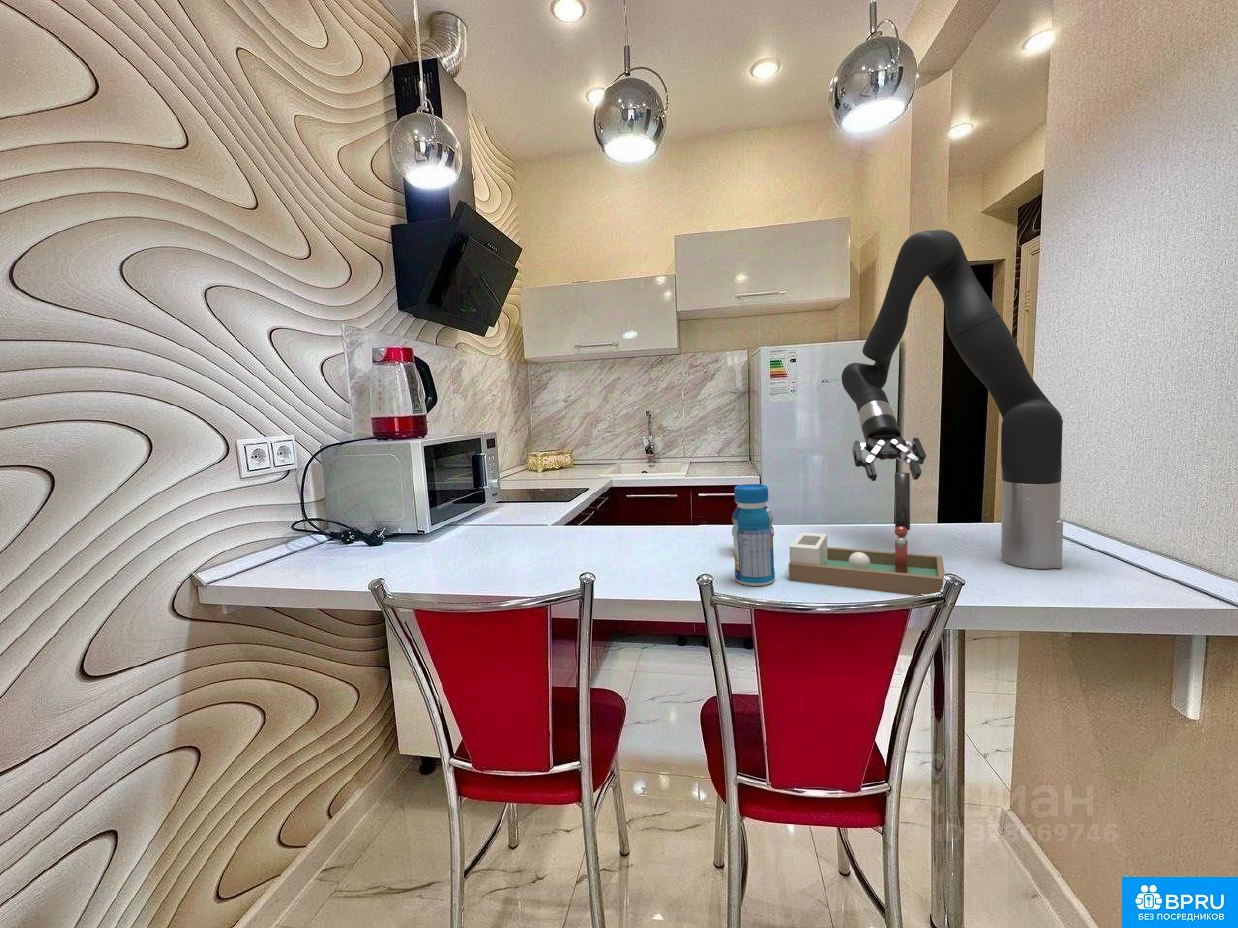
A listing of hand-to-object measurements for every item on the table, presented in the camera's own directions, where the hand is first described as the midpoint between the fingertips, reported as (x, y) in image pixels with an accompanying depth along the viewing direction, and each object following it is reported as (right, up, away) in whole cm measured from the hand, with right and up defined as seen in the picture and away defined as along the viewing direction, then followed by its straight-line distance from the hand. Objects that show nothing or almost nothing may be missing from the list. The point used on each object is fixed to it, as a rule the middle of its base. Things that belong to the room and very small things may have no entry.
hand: (895, 478), depth 108 cm
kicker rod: (-2, -18, -6) cm, 19 cm away
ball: (-11, -17, -7) cm, 22 cm away
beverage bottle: (-32, -22, -5) cm, 39 cm away
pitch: (-10, -20, -7) cm, 24 cm away
